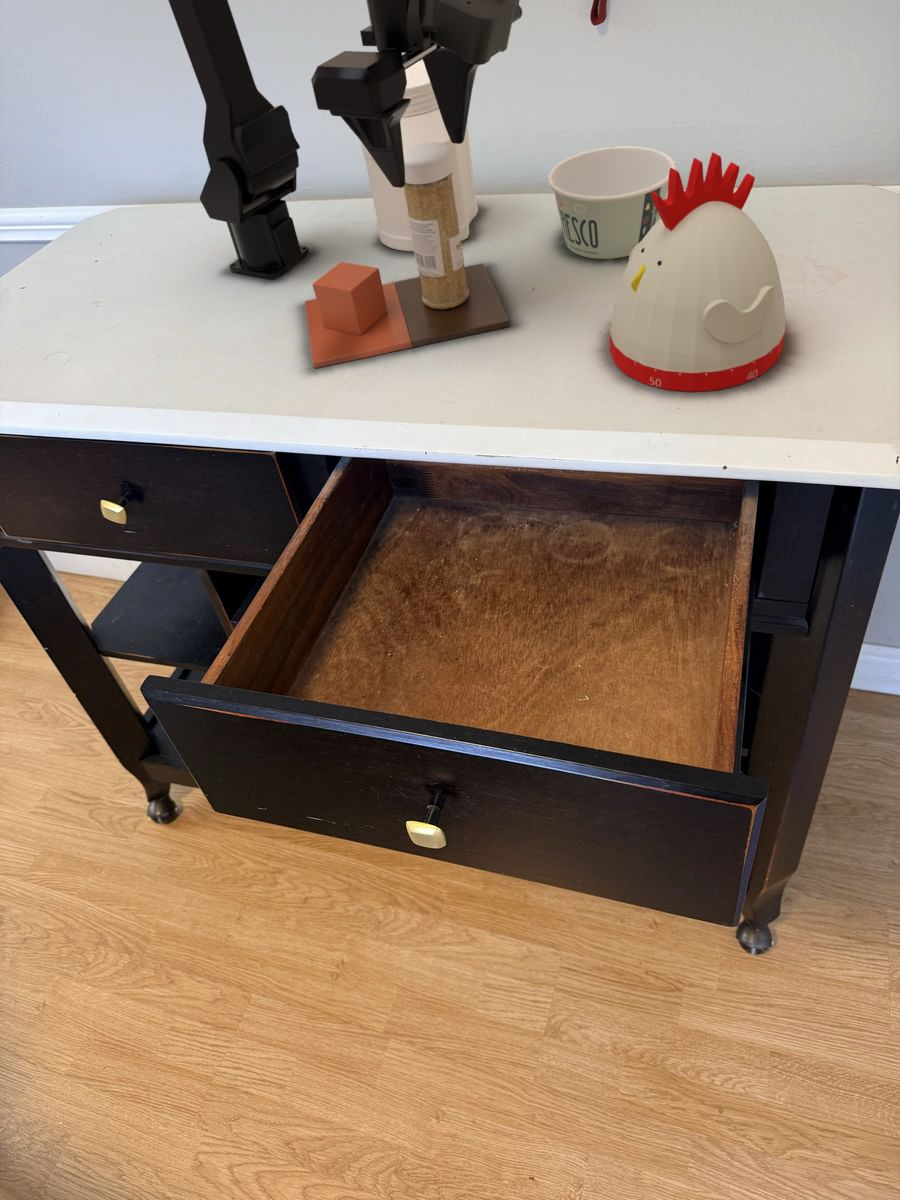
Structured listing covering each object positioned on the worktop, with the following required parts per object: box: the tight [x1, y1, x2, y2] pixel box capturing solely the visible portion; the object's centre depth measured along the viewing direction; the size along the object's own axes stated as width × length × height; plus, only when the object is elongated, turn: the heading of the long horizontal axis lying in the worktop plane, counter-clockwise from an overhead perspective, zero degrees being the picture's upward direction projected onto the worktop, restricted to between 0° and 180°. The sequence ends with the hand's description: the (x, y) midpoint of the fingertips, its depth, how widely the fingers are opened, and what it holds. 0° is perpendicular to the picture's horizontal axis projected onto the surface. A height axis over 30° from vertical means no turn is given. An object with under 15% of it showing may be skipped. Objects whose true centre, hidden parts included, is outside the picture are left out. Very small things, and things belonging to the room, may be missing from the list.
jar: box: [361, 60, 479, 252], centre depth 93 cm, size 12×10×15 cm
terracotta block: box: [312, 261, 388, 335], centre depth 83 cm, size 4×4×4 cm
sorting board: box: [304, 262, 511, 369], centre depth 85 cm, size 18×12×1 cm, turn 100°
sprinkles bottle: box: [403, 142, 469, 309], centre depth 80 cm, size 5×5×14 cm
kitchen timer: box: [609, 151, 786, 393], centre depth 70 cm, size 14×14×15 cm
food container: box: [547, 145, 677, 260], centre depth 88 cm, size 12×12×6 cm
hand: (429, 164), depth 76 cm, fingers open, 9 cm apart
